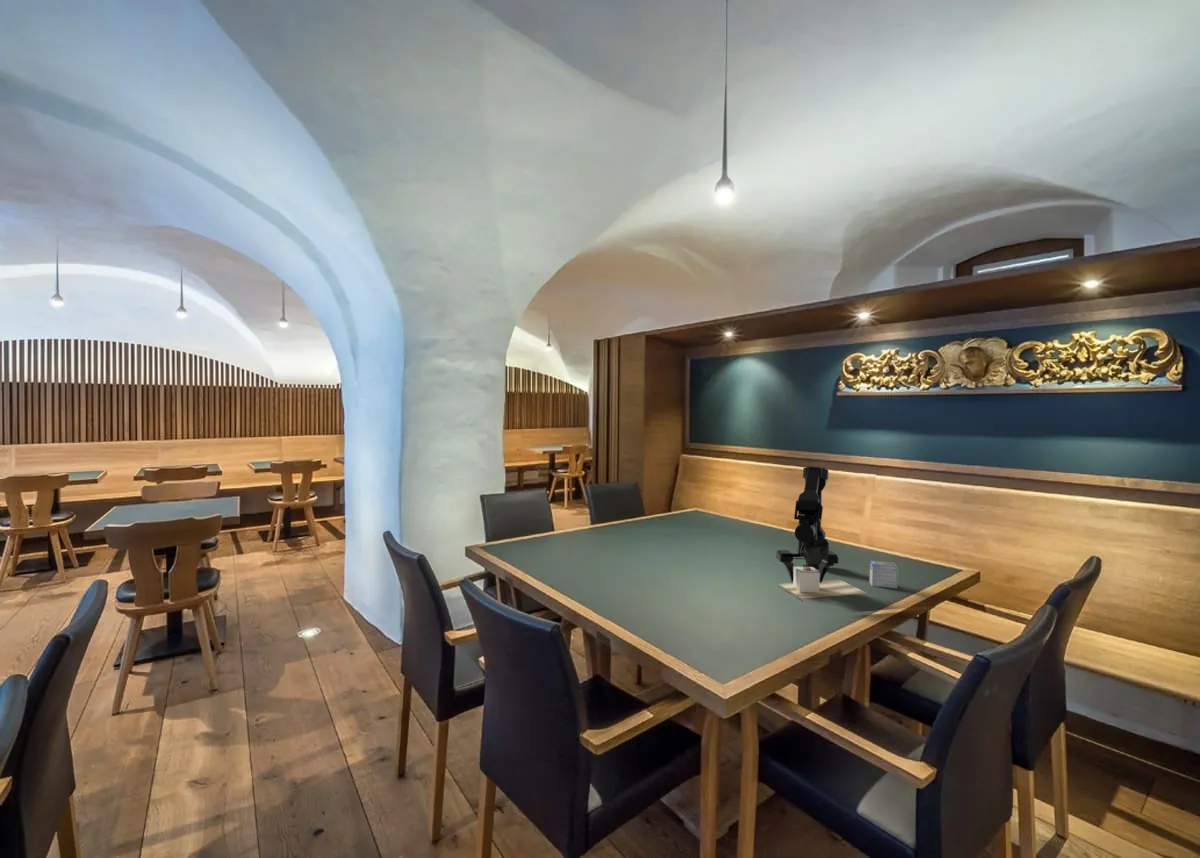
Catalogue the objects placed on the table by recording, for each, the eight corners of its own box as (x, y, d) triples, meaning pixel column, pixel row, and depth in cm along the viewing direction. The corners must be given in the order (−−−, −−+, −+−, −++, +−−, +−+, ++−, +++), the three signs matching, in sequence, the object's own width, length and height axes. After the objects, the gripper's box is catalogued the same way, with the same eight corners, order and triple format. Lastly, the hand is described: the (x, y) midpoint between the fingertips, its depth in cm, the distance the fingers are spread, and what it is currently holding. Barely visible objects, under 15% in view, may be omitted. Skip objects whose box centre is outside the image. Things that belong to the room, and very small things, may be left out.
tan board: (778, 586, 186) (778, 573, 186) (839, 582, 192) (839, 569, 192) (801, 601, 173) (802, 587, 173) (867, 596, 178) (867, 582, 178)
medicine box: (894, 587, 188) (895, 562, 187) (897, 591, 183) (898, 566, 183) (868, 584, 190) (869, 560, 189) (871, 589, 185) (872, 564, 185)
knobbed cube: (799, 592, 178) (800, 570, 178) (793, 585, 184) (793, 564, 184) (819, 592, 178) (819, 571, 177) (812, 585, 184) (813, 565, 184)
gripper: (786, 541, 172) (784, 589, 173) (846, 542, 172) (844, 591, 172) (776, 532, 184) (775, 578, 184) (832, 534, 183) (831, 579, 184)
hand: (806, 582), depth 181 cm, fingers open, 9 cm apart
